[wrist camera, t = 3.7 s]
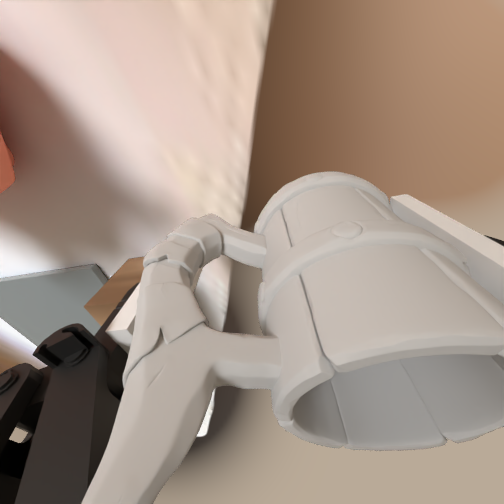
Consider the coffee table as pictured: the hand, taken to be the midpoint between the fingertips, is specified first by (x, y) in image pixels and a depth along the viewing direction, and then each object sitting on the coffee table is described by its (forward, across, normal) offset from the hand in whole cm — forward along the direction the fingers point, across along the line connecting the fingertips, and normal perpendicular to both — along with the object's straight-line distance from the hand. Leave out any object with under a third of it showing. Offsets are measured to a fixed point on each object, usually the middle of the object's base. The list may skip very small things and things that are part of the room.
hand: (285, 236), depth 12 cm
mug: (+2, 0, 0) cm, 2 cm away
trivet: (+3, -22, -8) cm, 23 cm away
